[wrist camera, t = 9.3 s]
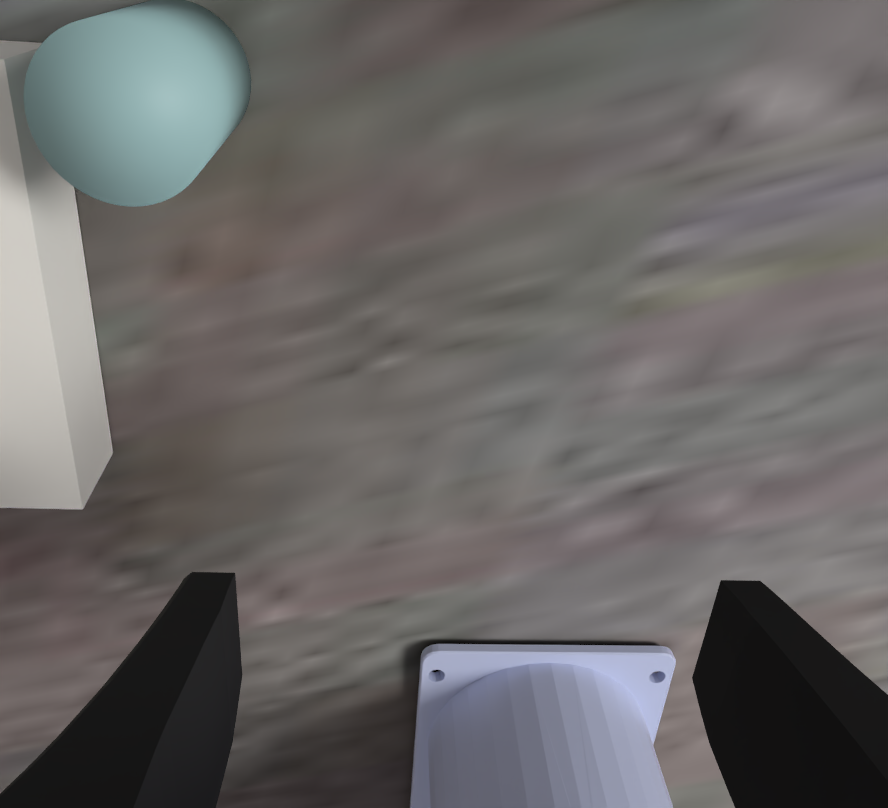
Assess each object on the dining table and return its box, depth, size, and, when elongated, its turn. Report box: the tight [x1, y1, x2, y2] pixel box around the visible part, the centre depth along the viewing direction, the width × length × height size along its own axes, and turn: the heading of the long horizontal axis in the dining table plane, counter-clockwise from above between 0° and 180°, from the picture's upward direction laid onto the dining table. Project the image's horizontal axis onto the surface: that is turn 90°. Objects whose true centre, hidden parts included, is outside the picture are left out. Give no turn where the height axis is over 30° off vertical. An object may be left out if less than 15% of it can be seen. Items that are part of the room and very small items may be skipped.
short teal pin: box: [24, 0, 251, 206], centre depth 16 cm, size 3×3×4 cm
